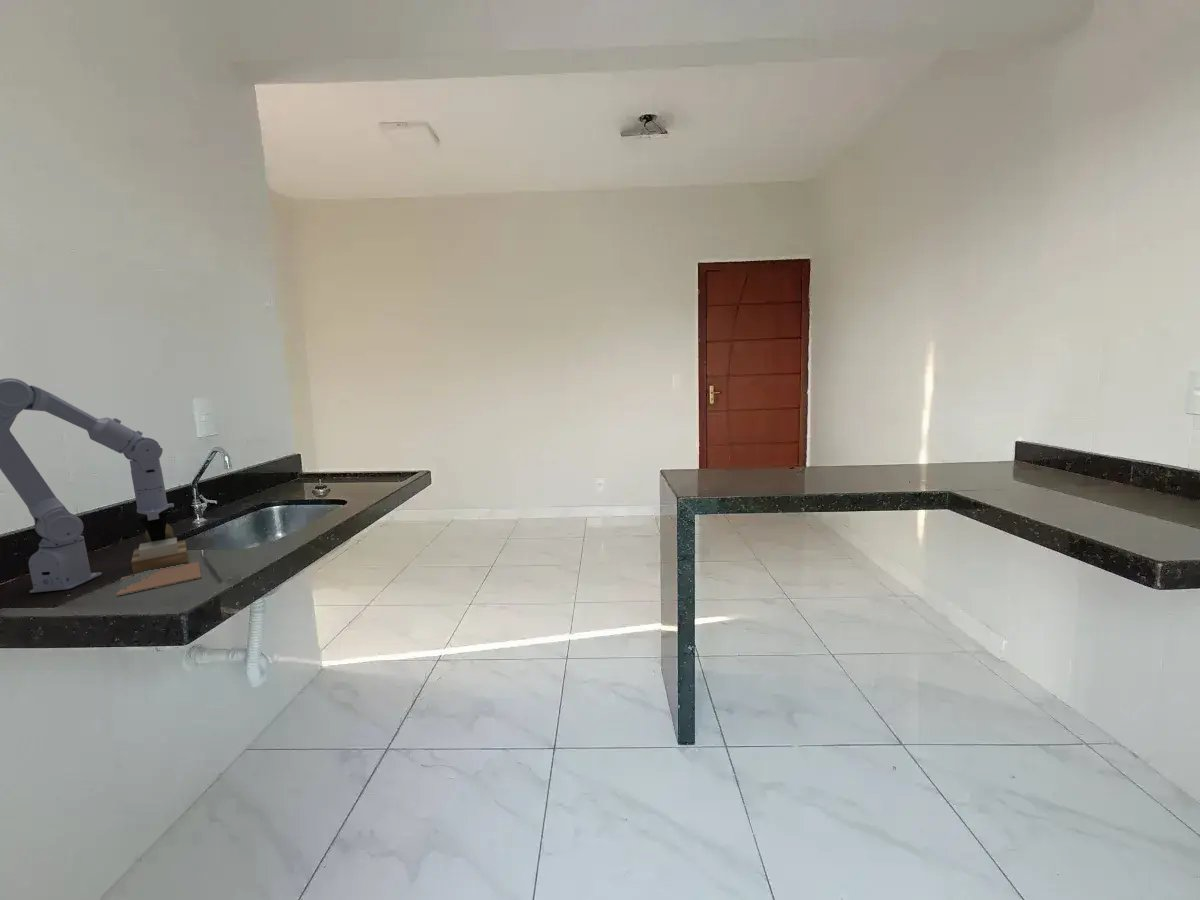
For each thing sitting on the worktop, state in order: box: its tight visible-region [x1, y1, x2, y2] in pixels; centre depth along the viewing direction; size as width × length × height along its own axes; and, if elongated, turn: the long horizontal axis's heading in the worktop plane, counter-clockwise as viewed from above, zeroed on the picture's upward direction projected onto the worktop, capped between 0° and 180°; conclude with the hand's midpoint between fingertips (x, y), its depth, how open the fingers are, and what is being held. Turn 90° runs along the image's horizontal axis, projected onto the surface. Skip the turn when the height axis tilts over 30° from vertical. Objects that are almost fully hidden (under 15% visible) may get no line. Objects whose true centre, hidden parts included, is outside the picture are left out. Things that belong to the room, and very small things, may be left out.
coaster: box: [138, 537, 178, 559], centre depth 138 cm, size 7×7×2 cm
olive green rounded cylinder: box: [144, 522, 176, 543], centre depth 153 cm, size 6×6×11 cm
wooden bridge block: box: [130, 539, 189, 575], centre depth 139 cm, size 14×10×3 cm
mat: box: [116, 561, 202, 596], centre depth 127 cm, size 14×14×1 cm
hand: (159, 544), depth 142 cm, fingers closed
